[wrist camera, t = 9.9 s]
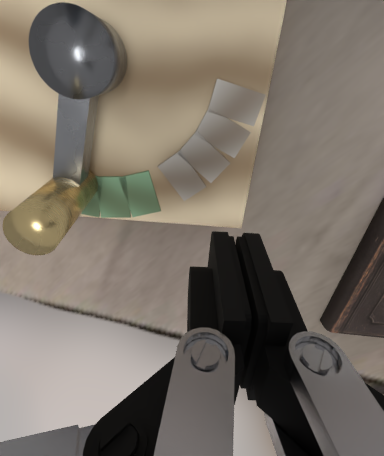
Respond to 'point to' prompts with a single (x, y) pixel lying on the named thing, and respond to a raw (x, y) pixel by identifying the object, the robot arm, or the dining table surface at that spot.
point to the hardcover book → (361, 287)
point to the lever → (67, 119)
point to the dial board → (151, 108)
